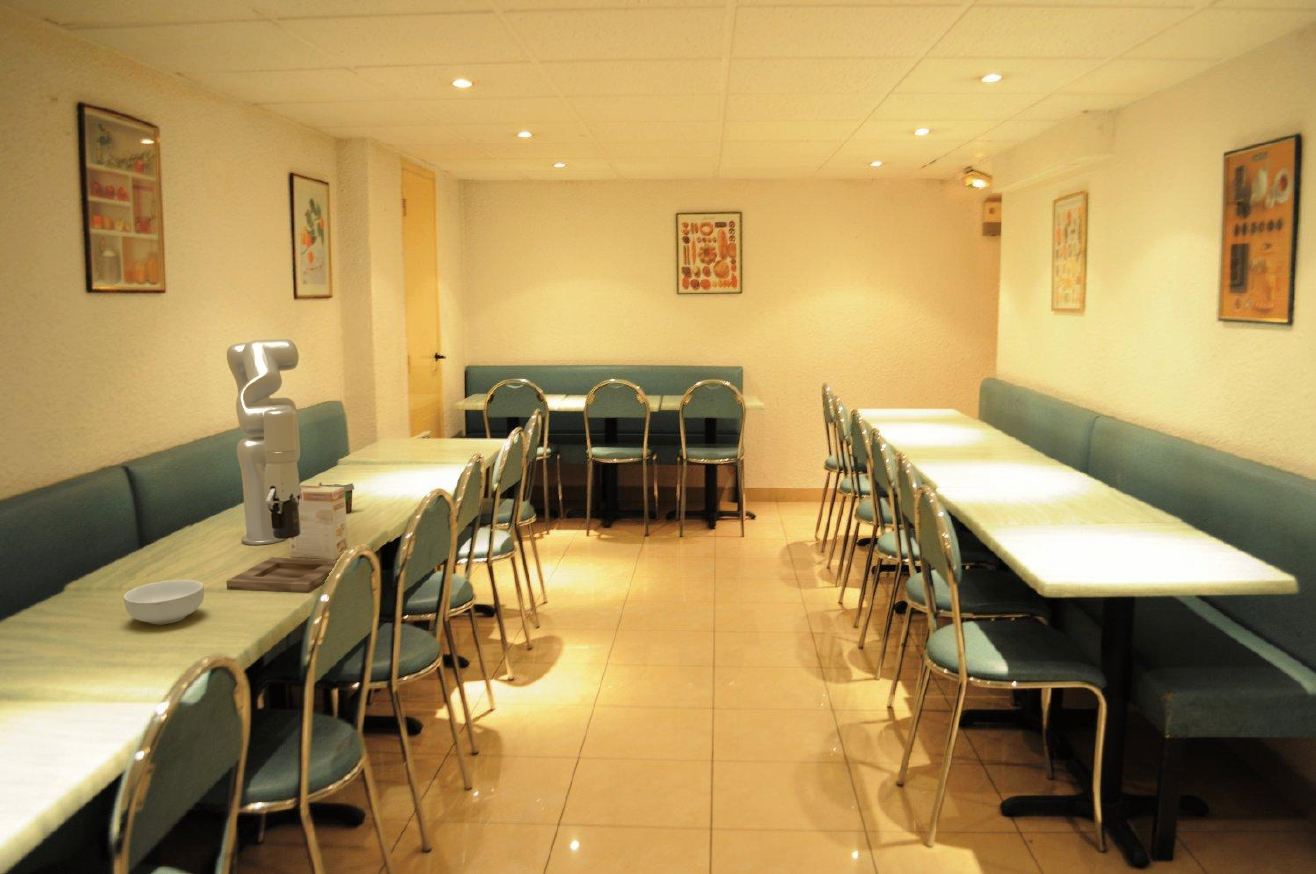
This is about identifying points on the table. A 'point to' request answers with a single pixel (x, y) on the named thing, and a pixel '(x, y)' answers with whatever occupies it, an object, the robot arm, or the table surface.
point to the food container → (347, 494)
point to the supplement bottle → (289, 520)
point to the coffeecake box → (321, 523)
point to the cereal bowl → (164, 601)
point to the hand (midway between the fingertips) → (285, 524)
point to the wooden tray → (284, 575)
